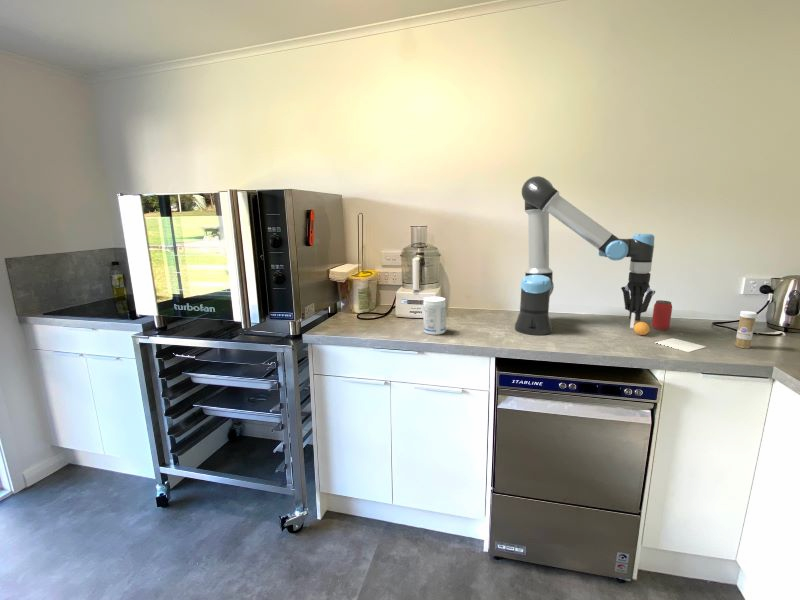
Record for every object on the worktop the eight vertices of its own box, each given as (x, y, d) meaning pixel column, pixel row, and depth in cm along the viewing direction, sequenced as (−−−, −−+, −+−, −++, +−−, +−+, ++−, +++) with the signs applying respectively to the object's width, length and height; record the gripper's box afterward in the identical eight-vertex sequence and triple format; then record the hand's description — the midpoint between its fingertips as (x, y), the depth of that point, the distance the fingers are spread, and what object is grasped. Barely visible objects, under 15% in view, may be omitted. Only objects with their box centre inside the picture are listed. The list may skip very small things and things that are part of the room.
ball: (628, 329, 162) (636, 319, 158) (636, 328, 164) (644, 318, 161) (638, 338, 158) (647, 328, 155) (647, 336, 160) (655, 327, 157)
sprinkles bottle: (734, 347, 144) (740, 312, 141) (734, 344, 147) (740, 309, 145) (750, 349, 141) (757, 314, 138) (750, 346, 144) (756, 311, 142)
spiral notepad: (654, 343, 149) (654, 342, 149) (672, 338, 155) (672, 338, 155) (688, 352, 139) (688, 351, 139) (706, 347, 144) (706, 346, 144)
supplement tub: (439, 328, 172) (440, 295, 169) (449, 333, 163) (450, 299, 160) (419, 330, 169) (419, 297, 166) (428, 336, 160) (428, 301, 157)
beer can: (672, 330, 165) (675, 303, 163) (655, 330, 167) (658, 302, 164) (665, 326, 172) (668, 300, 169) (648, 325, 173) (652, 299, 170)
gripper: (661, 273, 154) (654, 330, 159) (629, 269, 165) (624, 322, 170) (650, 274, 150) (643, 332, 155) (618, 270, 162) (613, 325, 167)
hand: (633, 327), depth 163 cm, fingers closed
